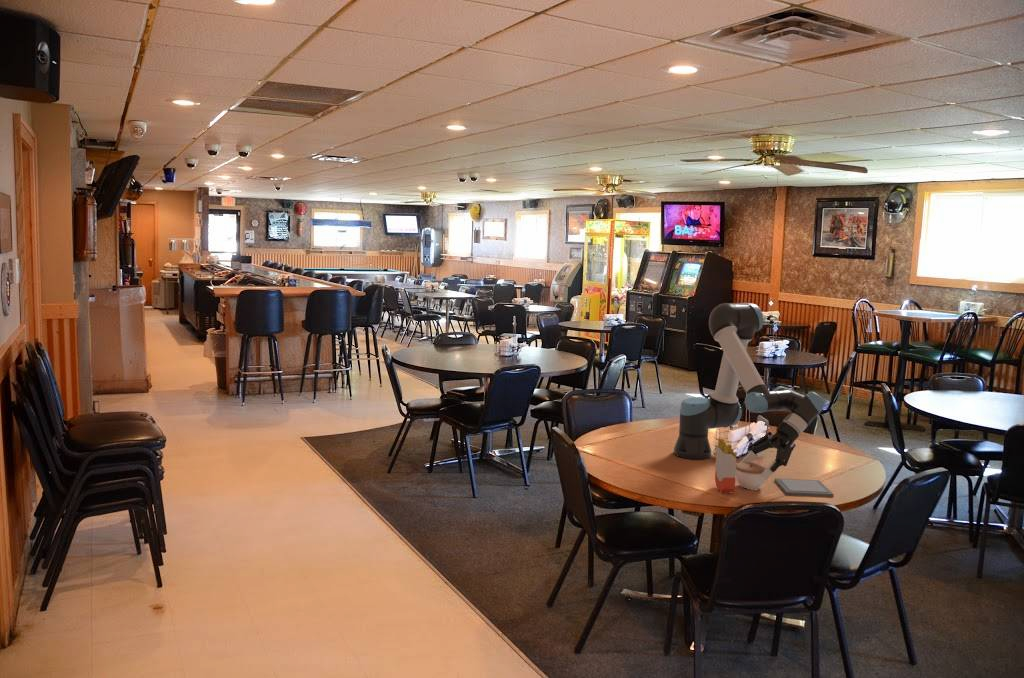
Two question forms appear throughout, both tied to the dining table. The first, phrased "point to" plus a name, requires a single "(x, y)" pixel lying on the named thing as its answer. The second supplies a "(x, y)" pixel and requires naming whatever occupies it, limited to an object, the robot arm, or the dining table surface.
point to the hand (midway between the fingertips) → (752, 471)
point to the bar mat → (803, 487)
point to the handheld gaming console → (764, 421)
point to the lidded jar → (750, 475)
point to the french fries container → (725, 467)
